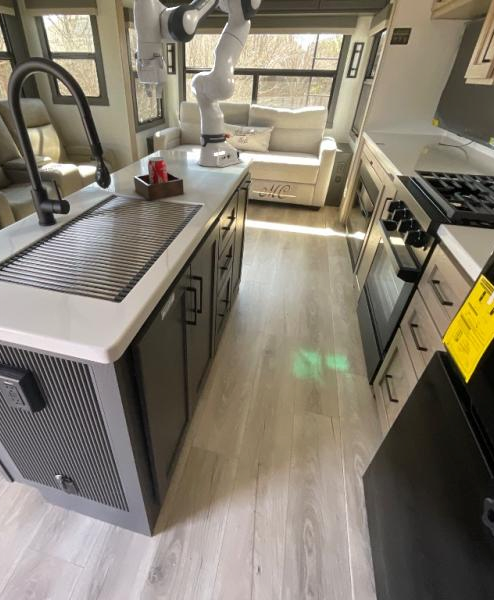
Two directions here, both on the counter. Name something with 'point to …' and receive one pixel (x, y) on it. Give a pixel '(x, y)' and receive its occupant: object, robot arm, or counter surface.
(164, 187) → the box
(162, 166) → the soda can
